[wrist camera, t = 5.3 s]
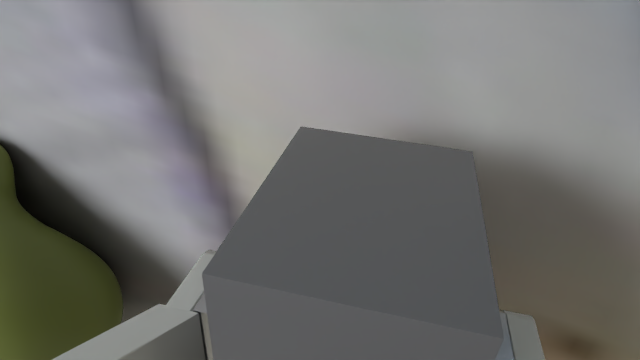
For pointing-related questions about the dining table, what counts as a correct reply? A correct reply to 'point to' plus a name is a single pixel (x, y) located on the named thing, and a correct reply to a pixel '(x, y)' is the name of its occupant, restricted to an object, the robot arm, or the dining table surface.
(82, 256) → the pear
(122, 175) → the dining table surface
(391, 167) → the block
